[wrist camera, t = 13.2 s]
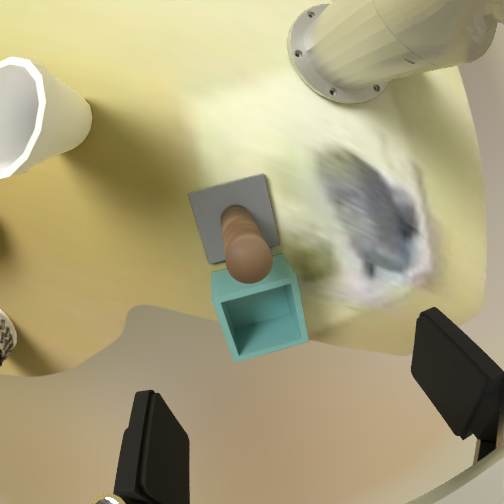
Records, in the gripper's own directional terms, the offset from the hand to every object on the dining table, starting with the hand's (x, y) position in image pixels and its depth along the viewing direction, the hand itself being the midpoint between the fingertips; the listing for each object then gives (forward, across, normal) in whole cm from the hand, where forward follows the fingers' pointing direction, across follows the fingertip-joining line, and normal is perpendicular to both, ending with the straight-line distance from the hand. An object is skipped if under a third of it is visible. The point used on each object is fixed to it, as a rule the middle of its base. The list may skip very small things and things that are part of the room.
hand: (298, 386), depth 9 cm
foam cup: (+25, +16, -16) cm, 33 cm away
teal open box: (+24, 0, +10) cm, 26 cm away
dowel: (+24, 0, 0) cm, 24 cm away
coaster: (+25, 0, 0) cm, 25 cm away
